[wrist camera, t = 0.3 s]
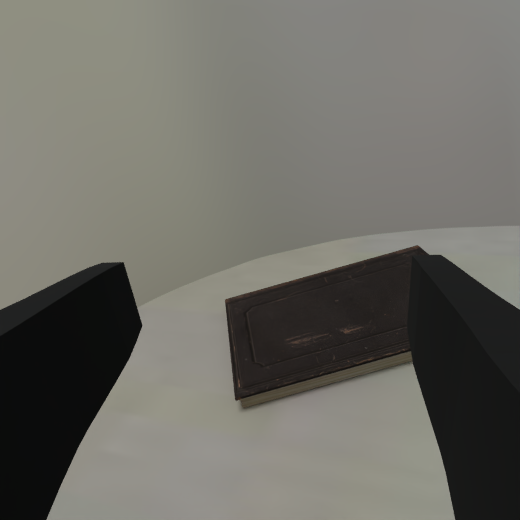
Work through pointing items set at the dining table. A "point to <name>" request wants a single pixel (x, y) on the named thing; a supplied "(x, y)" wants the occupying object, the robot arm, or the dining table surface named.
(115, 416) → the dining table surface
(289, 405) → the dining table surface
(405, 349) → the hardcover book
